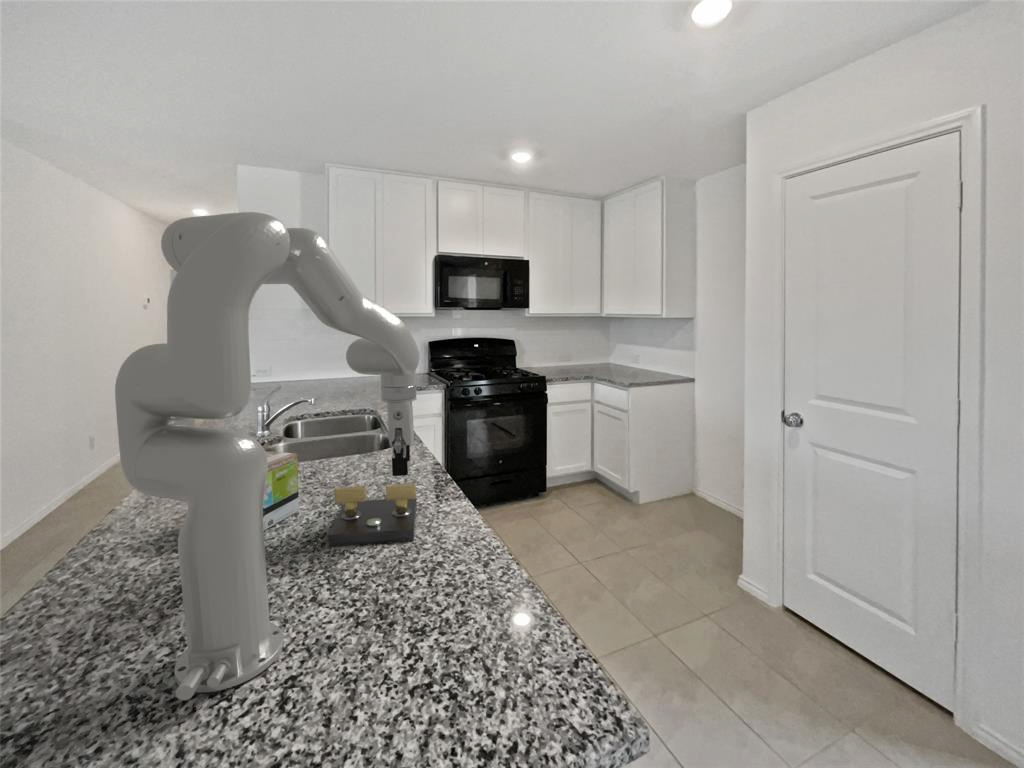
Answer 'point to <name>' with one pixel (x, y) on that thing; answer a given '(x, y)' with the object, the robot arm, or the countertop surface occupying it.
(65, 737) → the countertop surface
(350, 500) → the knob
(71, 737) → the countertop surface
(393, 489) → the knob
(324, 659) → the countertop surface
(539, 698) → the countertop surface
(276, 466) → the tea box
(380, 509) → the base
